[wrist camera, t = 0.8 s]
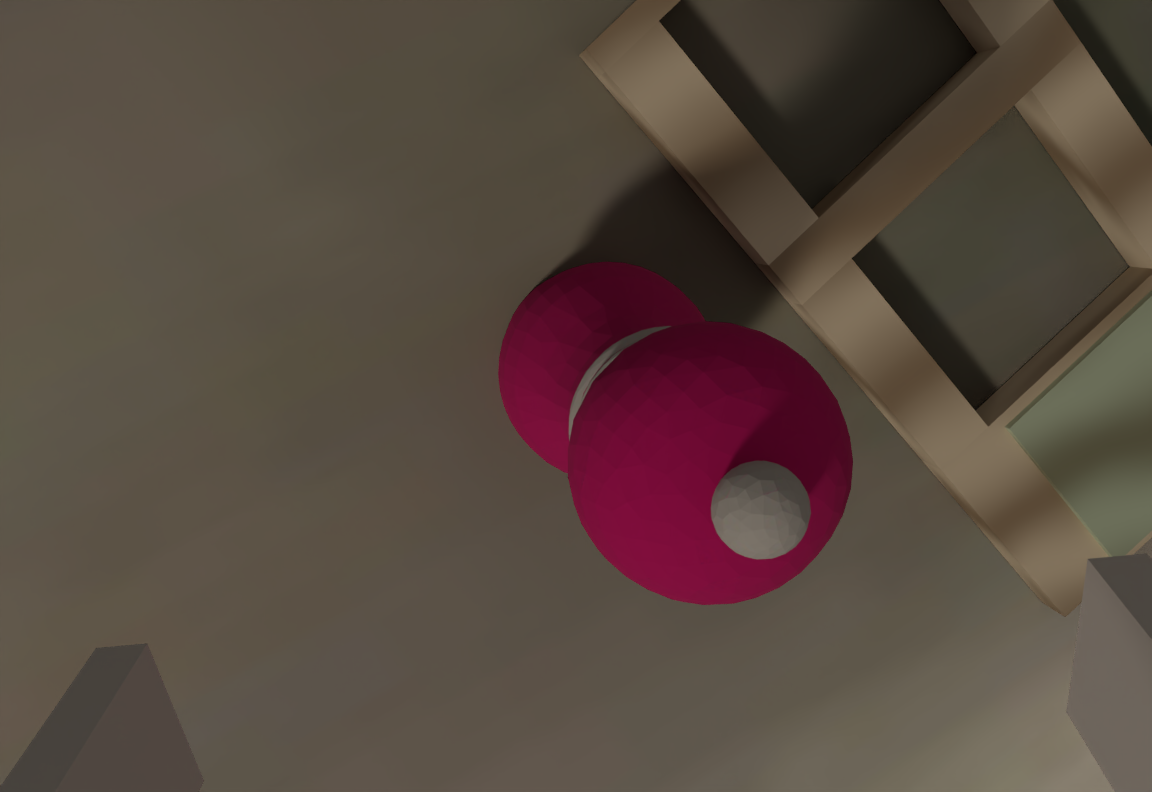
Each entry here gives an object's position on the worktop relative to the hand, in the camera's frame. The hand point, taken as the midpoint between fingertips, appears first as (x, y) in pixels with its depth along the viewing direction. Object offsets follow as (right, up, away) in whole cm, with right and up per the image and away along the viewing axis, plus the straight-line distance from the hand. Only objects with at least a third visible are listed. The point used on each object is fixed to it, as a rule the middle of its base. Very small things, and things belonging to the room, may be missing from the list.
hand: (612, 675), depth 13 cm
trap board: (+15, +10, +24) cm, 30 cm away
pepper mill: (0, +6, +22) cm, 23 cm away
